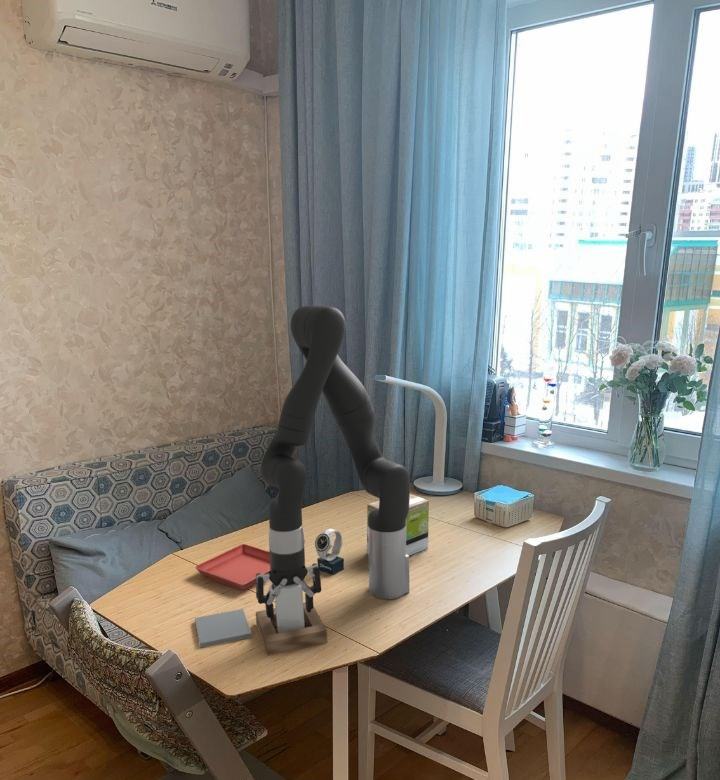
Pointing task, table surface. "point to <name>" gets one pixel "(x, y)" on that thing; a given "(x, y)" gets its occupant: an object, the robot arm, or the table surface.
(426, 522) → the tea box
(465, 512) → the table surface
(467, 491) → the table surface
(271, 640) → the walnut collar
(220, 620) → the slate mat
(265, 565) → the plant saucer
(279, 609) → the skincare box
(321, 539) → the watch
